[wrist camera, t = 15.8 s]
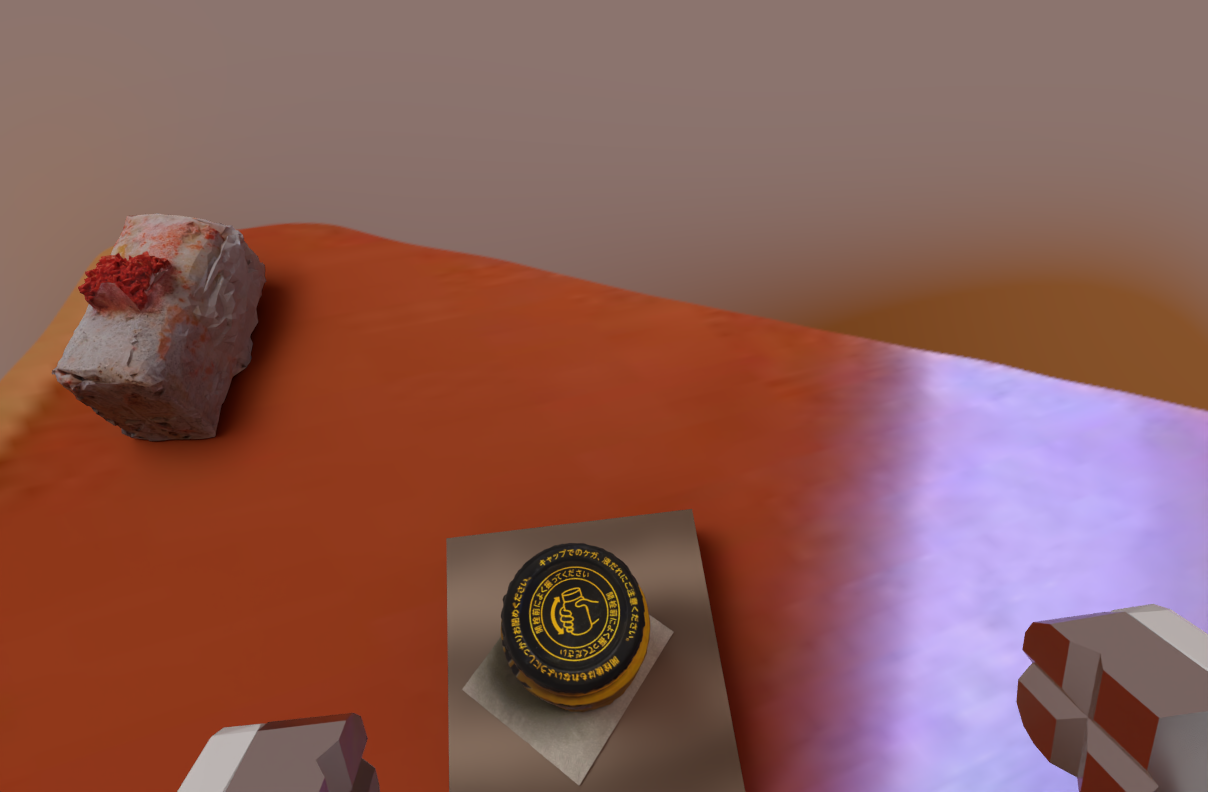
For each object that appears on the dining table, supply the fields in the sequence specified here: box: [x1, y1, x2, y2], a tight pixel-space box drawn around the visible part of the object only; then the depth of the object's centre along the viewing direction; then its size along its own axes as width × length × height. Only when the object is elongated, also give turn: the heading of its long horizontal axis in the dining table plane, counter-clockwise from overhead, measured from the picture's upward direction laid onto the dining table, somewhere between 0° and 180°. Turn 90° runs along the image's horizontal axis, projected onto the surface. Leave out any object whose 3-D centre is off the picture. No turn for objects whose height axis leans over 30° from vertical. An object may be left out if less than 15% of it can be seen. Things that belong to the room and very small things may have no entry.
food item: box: [52, 213, 266, 441], centre depth 42 cm, size 14×8×10 cm, turn 0°
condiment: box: [462, 543, 673, 785], centre depth 28 cm, size 7×8×12 cm
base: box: [447, 509, 745, 792], centre depth 35 cm, size 14×14×4 cm
